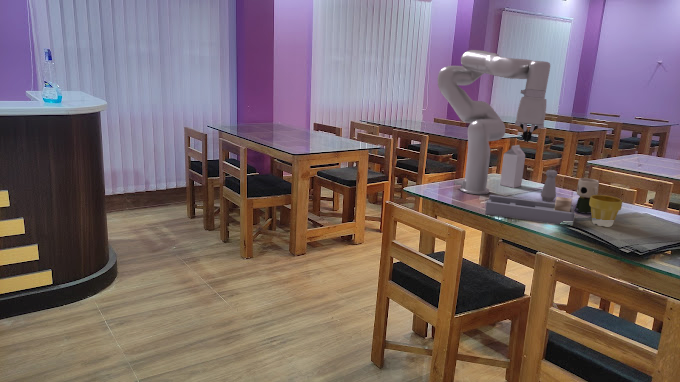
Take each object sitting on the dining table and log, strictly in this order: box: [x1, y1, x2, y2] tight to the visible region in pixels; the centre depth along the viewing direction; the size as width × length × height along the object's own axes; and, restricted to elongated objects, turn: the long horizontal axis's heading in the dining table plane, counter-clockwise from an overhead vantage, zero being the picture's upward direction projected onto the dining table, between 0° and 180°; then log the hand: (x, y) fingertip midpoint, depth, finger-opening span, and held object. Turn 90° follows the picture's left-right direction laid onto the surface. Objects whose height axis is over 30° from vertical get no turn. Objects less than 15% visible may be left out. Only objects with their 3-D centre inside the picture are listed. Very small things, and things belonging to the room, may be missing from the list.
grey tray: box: [484, 194, 575, 225], centre depth 188 cm, size 30×13×4 cm, turn 69°
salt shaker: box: [540, 169, 558, 203], centre depth 210 cm, size 6×6×13 cm
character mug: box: [574, 177, 600, 214], centre depth 194 cm, size 11×7×13 cm, turn 12°
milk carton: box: [499, 144, 526, 189], centre depth 234 cm, size 7×7×19 cm
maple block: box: [554, 196, 572, 212], centre depth 183 cm, size 5×5×5 cm
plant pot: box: [589, 194, 623, 220], centre depth 180 cm, size 10×10×10 cm
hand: (526, 141), depth 198 cm, fingers closed
